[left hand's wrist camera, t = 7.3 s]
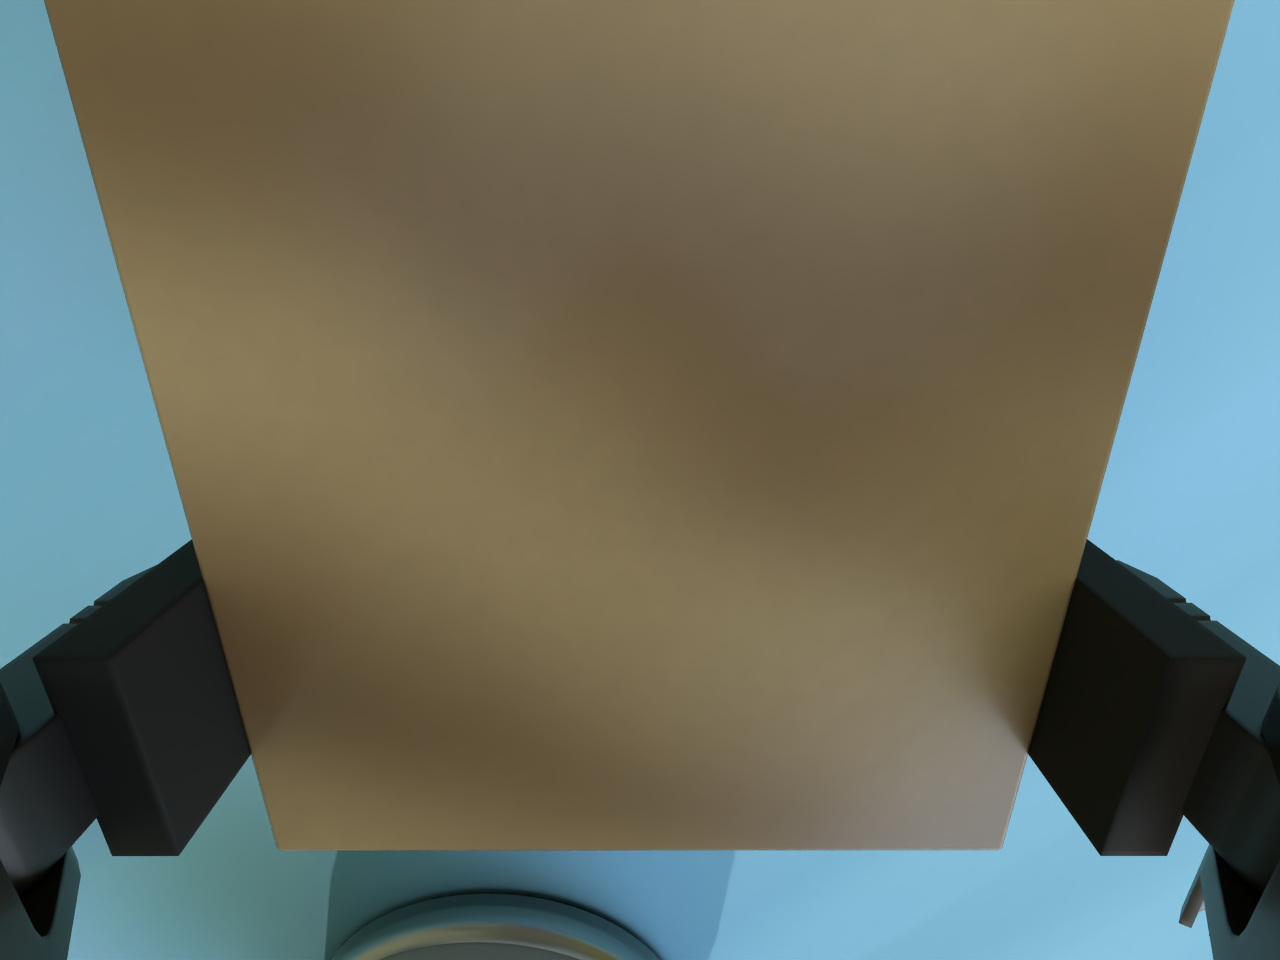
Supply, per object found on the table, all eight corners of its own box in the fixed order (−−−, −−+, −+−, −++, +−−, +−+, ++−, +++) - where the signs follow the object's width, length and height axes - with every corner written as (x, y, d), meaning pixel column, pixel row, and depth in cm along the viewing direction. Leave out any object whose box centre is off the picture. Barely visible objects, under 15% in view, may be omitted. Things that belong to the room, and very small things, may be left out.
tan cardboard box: (378, -274, 14) (-471, -1840, 3) (900, -274, 14) (1748, -1840, 3) (463, 520, 20) (275, 852, 10) (815, 520, 20) (1003, 852, 10)
